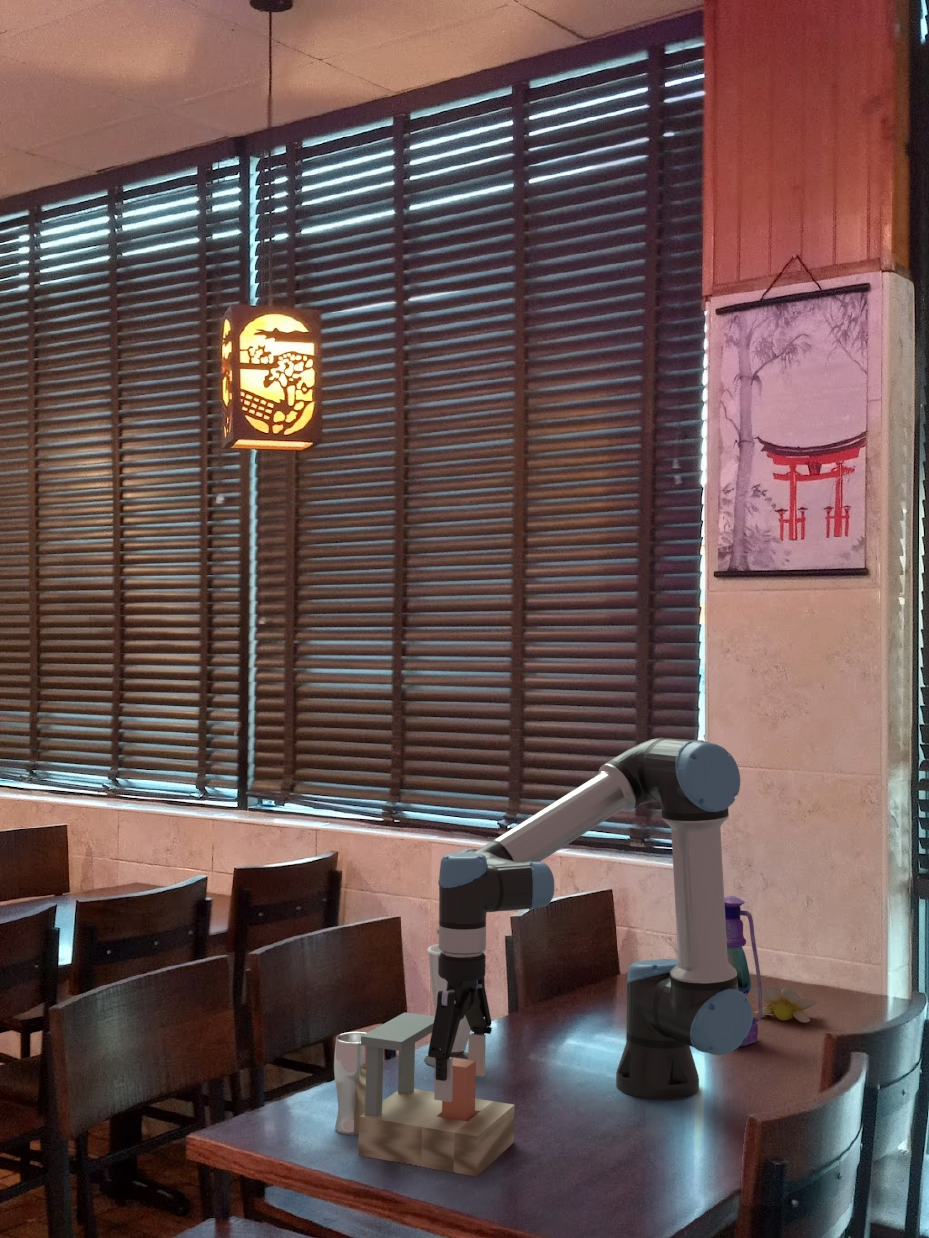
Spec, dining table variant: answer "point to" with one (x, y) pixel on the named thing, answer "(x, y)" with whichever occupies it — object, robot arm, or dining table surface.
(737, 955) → the lantern
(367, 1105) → the grey toy table
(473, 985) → the robot arm
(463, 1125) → the socket block
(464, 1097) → the peg
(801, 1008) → the decorative flower
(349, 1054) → the beer glass
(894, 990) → the dining table surface
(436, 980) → the cup
